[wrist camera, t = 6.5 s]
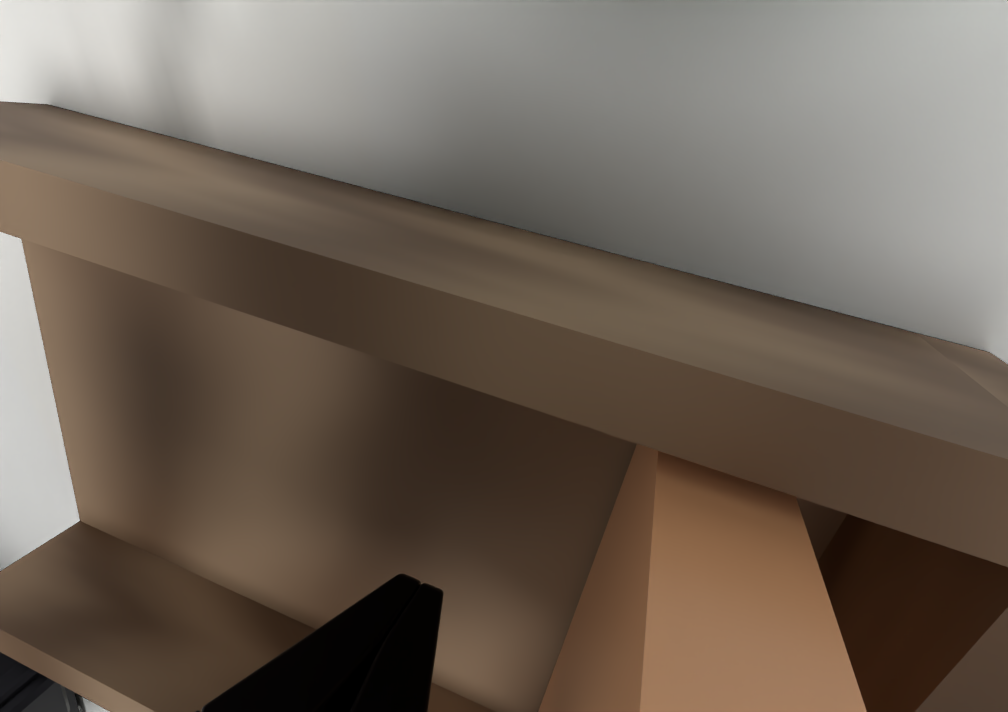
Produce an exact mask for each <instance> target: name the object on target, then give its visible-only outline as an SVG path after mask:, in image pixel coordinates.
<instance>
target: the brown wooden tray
mask: <svg viewBox="0 0 1008 712" xmlns="http://www.w3.org/2000/svg"><path fill="white" fill-rule="evenodd" d="M0 232H3V233H6V234H9V235H12V236H15V237H18V238H21V239H22V244H23V249H24V254H25V258H26V263H27V268H28V273H29V278H30V282H31V287H32V292H33V297H34V302H35V306H36V311H37V316H38V321H39V326H40V330H41V335H42V340H43V345H44V350H45V354H46V359H47V364H48V369H49V374H50V378H51V383H52V388H53V393H54V398H55V402H56V407H57V412H58V417H59V422H60V426H61V431H62V436H63V441H64V446H65V450H66V455H67V460H68V465H69V470H70V474H71V479H72V484H73V489H74V494H75V498H76V503H77V508H78V513H79V518H80V521H79V522H78V523H76V524H75V525H73V526H71V527H70V528H68V529H67V530H65V531H63V532H62V533H60V534H59V535H57V536H56V537H54V538H52V539H51V540H49V541H48V542H46V543H44V544H43V545H41V546H40V547H38V548H36V549H35V550H33V551H32V552H30V553H29V554H27V555H25V556H24V557H22V558H21V559H19V560H17V561H16V562H14V563H13V564H11V565H9V566H8V567H6V568H5V569H3V570H2V571H0V652H1V653H3V654H5V655H7V656H9V657H10V658H12V659H14V660H16V661H18V662H20V663H22V664H23V665H25V666H27V667H29V668H31V669H33V670H34V671H36V672H38V673H40V674H42V675H44V676H45V677H47V678H49V679H51V680H53V681H55V682H56V683H58V684H60V685H62V686H64V687H66V688H68V689H69V690H71V691H73V692H75V693H77V694H79V695H80V696H82V697H84V698H86V699H88V700H90V701H91V702H93V703H95V704H97V705H99V706H101V707H103V708H104V709H106V710H108V711H110V712H195V711H196V710H200V711H201V710H202V707H203V706H204V705H206V704H207V703H209V702H210V701H211V700H213V699H214V698H216V697H217V696H219V695H220V694H222V693H223V692H225V691H226V690H228V689H229V688H231V687H232V686H234V685H235V684H237V683H238V682H240V681H241V680H242V679H244V678H245V677H247V676H248V675H250V674H251V673H253V672H254V671H256V670H257V669H259V668H260V667H262V666H263V665H265V664H266V663H268V662H269V661H271V660H272V659H273V658H275V657H276V656H278V655H279V654H281V653H282V652H284V651H285V650H287V649H288V648H290V647H291V646H293V645H294V644H296V643H297V642H299V641H300V640H302V639H303V638H304V637H306V636H307V635H309V634H310V633H312V632H313V631H315V630H316V629H318V628H319V627H321V626H322V625H324V624H325V623H327V622H328V621H330V620H331V619H333V618H334V617H335V616H337V615H338V614H340V613H341V612H343V611H344V610H346V609H347V608H349V607H350V606H352V605H353V604H355V603H356V602H358V601H359V600H361V599H362V598H364V597H365V596H366V595H368V594H369V593H371V592H372V591H374V590H375V589H377V588H378V587H380V586H381V585H383V584H384V583H386V582H387V581H389V580H390V579H392V578H393V577H395V576H396V575H398V574H406V575H408V576H411V577H413V578H416V579H418V580H419V581H420V582H421V584H423V583H427V584H430V585H432V586H435V587H437V588H439V589H441V590H443V592H444V596H443V603H442V611H441V618H440V625H439V633H438V640H437V647H436V655H435V662H434V669H433V677H432V684H431V691H430V699H429V706H428V712H538V711H539V708H540V705H541V703H542V700H543V697H544V694H545V692H546V689H547V686H548V684H549V681H550V678H551V675H552V673H553V670H554V667H555V665H556V662H557V659H558V656H559V654H560V651H561V648H562V646H563V643H564V640H565V637H566V635H567V632H568V629H569V627H570V624H571V621H572V619H573V616H574V613H575V610H576V608H577V605H578V602H579V600H580V597H581V594H582V591H583V589H584V586H585V583H586V581H587V578H588V575H589V572H590V570H591V567H592V564H593V562H594V559H595V556H596V553H597V551H598V548H599V545H600V543H601V540H602V537H603V534H604V532H605V529H606V526H607V524H608V521H609V518H610V515H611V513H612V510H613V507H614V505H615V502H616V499H617V496H618V494H619V491H620V488H621V486H622V483H623V480H624V477H625V475H626V472H627V469H628V467H629V464H630V461H631V459H632V456H633V453H634V450H635V448H636V445H637V444H640V445H643V446H646V447H649V448H652V449H655V450H658V451H661V452H664V453H667V454H670V455H673V456H676V457H679V458H682V459H685V460H688V461H691V462H694V463H697V464H700V465H703V466H706V467H709V468H712V469H715V470H718V471H721V472H724V473H727V474H730V475H733V476H736V477H739V478H742V479H745V480H748V481H751V482H754V483H757V484H760V485H763V486H766V487H769V488H772V489H775V490H778V491H781V492H784V493H787V494H790V495H793V496H796V499H797V502H798V505H799V508H800V511H801V514H802V517H803V520H804V523H805V526H806V529H807V532H808V535H809V538H810V541H811V544H812V547H813V550H814V553H815V556H816V559H817V562H818V566H819V569H820V572H821V575H822V578H823V581H824V584H825V587H826V590H827V593H828V596H829V599H830V602H831V605H832V608H833V611H834V614H835V617H836V620H837V623H838V626H839V629H840V632H841V635H842V638H843V641H844V644H845V647H846V650H847V653H848V656H849V659H850V662H851V665H852V668H853V671H854V674H855V677H856V680H857V683H858V687H859V690H860V693H861V696H862V699H863V702H864V705H865V708H866V711H867V712H1008V364H1006V363H1005V362H1003V361H1002V360H1000V359H999V358H997V357H996V356H994V355H993V354H991V353H990V352H986V351H982V350H978V349H975V348H971V347H967V346H963V345H959V344H956V343H952V342H948V341H944V340H940V339H937V338H933V337H929V336H925V335H921V334H918V333H914V332H910V331H906V330H902V329H899V328H895V327H891V326H887V325H883V324H880V323H876V322H872V321H868V320H864V319H861V318H857V317H853V316H849V315H845V314H842V313H838V312H834V311H830V310H826V309H823V308H819V307H815V306H811V305H807V304H804V303H800V302H796V301H792V300H788V299H785V298H781V297H777V296H773V295H769V294H766V293H762V292H758V291H754V290H750V289H747V288H743V287H739V286H735V285H731V284H728V283H724V282H720V281H716V280H712V279H709V278H705V277H701V276H697V275H693V274H690V273H686V272H682V271H678V270H674V269H671V268H667V267H663V266H659V265H655V264H652V263H648V262H644V261H640V260H636V259H633V258H629V257H625V256H621V255H617V254H614V253H610V252H606V251H602V250H598V249H595V248H591V247H587V246H583V245H579V244H576V243H572V242H568V241H564V240H560V239H557V238H553V237H549V236H545V235H541V234H538V233H534V232H530V231H526V230H523V229H519V228H515V227H511V226H507V225H504V224H500V223H496V222H492V221H488V220H485V219H481V218H477V217H473V216H469V215H466V214H462V213H458V212H454V211H450V210H447V209H443V208H439V207H435V206H431V205H428V204H424V203H420V202H416V201H412V200H409V199H405V198H401V197H397V196H393V195H390V194H386V193H382V192H378V191H374V190H371V189H367V188H363V187H359V186H355V185H352V184H348V183H344V182H340V181H336V180H333V179H329V178H325V177H321V176H317V175H314V174H310V173H306V172H302V171H298V170H295V169H291V168H287V167H283V166H279V165H276V164H272V163H268V162H264V161H260V160H257V159H253V158H249V157H245V156H241V155H238V154H234V153H230V152H226V151H222V150H219V149H215V148H211V147H207V146H203V145H200V144H196V143H192V142H188V141H184V140H181V139H177V138H173V137H169V136H165V135H162V134H158V133H154V132H150V131H146V130H143V129H139V128H135V127H131V126H127V125H124V124H120V123H116V122H112V121H108V120H105V119H101V118H97V117H93V116H89V115H86V114H82V113H78V112H74V111H70V110H67V109H63V108H59V107H55V106H51V105H48V104H32V103H16V102H0Z"/></svg>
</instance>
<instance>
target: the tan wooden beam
mask: <svg viewBox="0 0 1008 712" xmlns="http://www.w3.org/2000/svg"><path fill="white" fill-rule="evenodd" d="M538 712H867V711H866V708H865V705H864V702H863V699H862V696H861V693H860V690H859V687H858V683H857V680H856V677H855V674H854V671H853V668H852V665H851V662H850V659H849V656H848V653H847V650H846V647H845V644H844V641H843V638H842V635H841V632H840V629H839V626H838V623H837V620H836V617H835V614H834V611H833V608H832V605H831V602H830V599H829V596H828V593H827V590H826V587H825V584H824V581H823V578H822V575H821V572H820V569H819V566H818V562H817V559H816V556H815V553H814V550H813V547H812V544H811V541H810V538H809V535H808V532H807V529H806V526H805V523H804V520H803V517H802V514H801V511H800V508H799V505H798V502H797V499H796V496H793V495H790V494H787V493H784V492H781V491H778V490H775V489H772V488H769V487H766V486H763V485H760V484H757V483H754V482H751V481H748V480H745V479H742V478H739V477H736V476H733V475H730V474H727V473H724V472H721V471H718V470H715V469H712V468H709V467H706V466H703V465H700V464H697V463H694V462H691V461H688V460H685V459H682V458H679V457H676V456H673V455H670V454H667V453H664V452H661V451H658V450H655V449H652V448H649V447H646V446H643V445H640V444H637V445H636V448H635V450H634V453H633V456H632V459H631V461H630V464H629V467H628V469H627V472H626V475H625V477H624V480H623V483H622V486H621V488H620V491H619V494H618V496H617V499H616V502H615V505H614V507H613V510H612V513H611V515H610V518H609V521H608V524H607V526H606V529H605V532H604V534H603V537H602V540H601V543H600V545H599V548H598V551H597V553H596V556H595V559H594V562H593V564H592V567H591V570H590V572H589V575H588V578H587V581H586V583H585V586H584V589H583V591H582V594H581V597H580V600H579V602H578V605H577V608H576V610H575V613H574V616H573V619H572V621H571V624H570V627H569V629H568V632H567V635H566V637H565V640H564V643H563V646H562V648H561V651H560V654H559V656H558V659H557V662H556V665H555V667H554V670H553V673H552V675H551V678H550V681H549V684H548V686H547V689H546V692H545V694H544V697H543V700H542V703H541V705H540V708H539V711H538Z"/></svg>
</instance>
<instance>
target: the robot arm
mask: <svg viewBox="0 0 1008 712" xmlns="http://www.w3.org/2000/svg"><path fill="white" fill-rule="evenodd" d="M443 596H444V592H443V590H441V589H439V588H437V587H435V586H432V585H430V584H427V583H423V584H421V582H420V581H419V580H418V579H416V578H413V577H411V576H408V575H406V574H398V575H396V576H395V577H393V578H392V579H390V580H389V581H387V582H386V583H384V584H383V585H381V586H380V587H378V588H377V589H375V590H374V591H372V592H371V593H369V594H368V595H366V596H365V597H364V598H362V599H361V600H359V601H358V602H356V603H355V604H353V605H352V606H350V607H349V608H347V609H346V610H344V611H343V612H341V613H340V614H338V615H337V616H335V617H334V618H333V619H331V620H330V621H328V622H327V623H325V624H324V625H322V626H321V627H319V628H318V629H316V630H315V631H313V632H312V633H310V634H309V635H307V636H306V637H304V638H303V639H302V640H300V641H299V642H297V643H296V644H294V645H293V646H291V647H290V648H288V649H287V650H285V651H284V652H282V653H281V654H279V655H278V656H276V657H275V658H273V659H272V660H271V661H269V662H268V663H266V664H265V665H263V666H262V667H260V668H259V669H257V670H256V671H254V672H253V673H251V674H250V675H248V676H247V677H245V678H244V679H242V680H241V681H240V682H238V683H237V684H235V685H234V686H232V687H231V688H229V689H228V690H226V691H225V692H223V693H222V694H220V695H219V696H217V697H216V698H214V699H213V700H211V701H210V702H209V703H207V704H206V705H204V706H203V707H202V710H201V711H200V710H196V711H195V712H428V706H429V699H430V691H431V684H432V677H433V669H434V662H435V655H436V647H437V640H438V633H439V625H440V618H441V611H442V603H443ZM0 712H79V709H78V705H77V701H76V697H75V694H74V692H73V691H71V690H69V689H68V688H66V687H64V686H62V685H60V684H58V683H56V682H55V681H53V680H51V679H49V678H47V677H45V676H44V675H42V674H40V673H38V672H36V671H34V670H33V669H31V668H29V667H27V666H25V665H23V664H22V663H20V662H18V661H16V660H14V659H12V658H10V657H9V656H7V655H5V654H3V653H1V652H0Z"/></svg>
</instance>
